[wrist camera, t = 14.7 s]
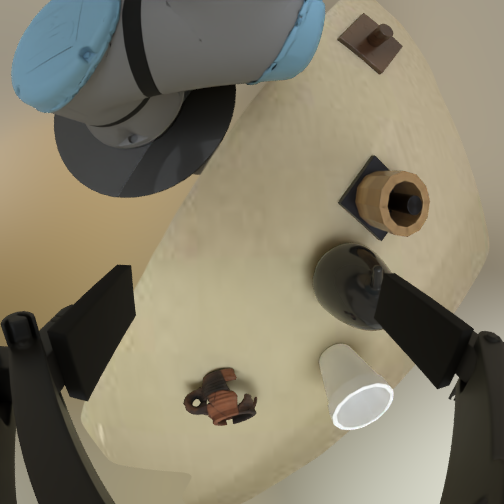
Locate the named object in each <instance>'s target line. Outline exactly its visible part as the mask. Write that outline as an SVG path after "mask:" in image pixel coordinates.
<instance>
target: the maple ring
mask: <svg viewBox="0 0 504 504" xmlns="http://www.w3.org/2000/svg"><path fill="white" fill-rule="evenodd" d="M392 189H393V190H394V192H395V193H403V194H410V195H416V196H418V197H419V198H420V199H421V201H422V209H421V212H420V213H419V214H418V215H410V214H406V213H402V212H398V211H393V210H392V212H391V213H390V214H389V210H388V200H389V194H390V192H391V191H392ZM355 203H356V206H357V209H358V212H359V215H360V217H361V218H362V219H363V220H364V221H366V222H367V223H368V224H369V225H370V226H373V227H375V228H378V229H381V230H383V231H386V232H389V233H391V234H394V235H400V236H406V237H408V236H410V235H411V234H413V233H415V232H417V231H419V230H420V229H421V227H422V225H423V224H424V222H425V221H426V219H427V217H428V210H429V203H430V200H429V196H428V192H427V188H426V185H425V184H424V183H423V182H422V181H421V179H420V178H419V177H418V176H417V175H416V174H413V173H409V172H406V171H376V172H373V173H371V174H368V175H366V176H365V177H364V178H363V180H362V181H361V183H360V184H359V186H358V187H357V193H356V200H355Z"/></svg>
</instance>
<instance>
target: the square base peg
mask: <svg viewBox="0 0 504 504" xmlns="http://www.w3.org/2000/svg"><path fill="white" fill-rule="evenodd" d="M376 171H390V170H389V169H388V168H387V167H386V166H385V165H384V164H383V163H382V162H381V161H380V160H379V159H378V158H377V157H376V156H375V155H374V156H371V157H370V159H369V160H368V162H367V163H366V165H365V166H364V167H363V169H362V170H361V172H360V173H359V174H358V176H357V177H356V179H355V180H354V181H353V183H352V184H351V186H350V187H349V188H348V190H347V191H346V193H345V194H344V195H343V197H342V198H341V199H340V201H339V202H338V203H339V204H340V205H341V206H342V207H343V208H344V209H345V210H347V211H348V212H349V213H350V214H351V215H352V216H353V217H354V218H356V219H357V220H358V221H359V222H360V223H361V224H362V225H363V226H364V227H365V228H367V229H368V230H369V231H370V232H371V233H372V234H373V235H374V236H375V237H376V238H377V239H378V240H380V241H382V240H383V239H384V237H385V236H386V234H387V233H388V232H386V231H383V230H381V229H378V228H375V227H373V226H370V225H369V224H368V223H367V222H366V221H364V220H363V219H362V218H361V217H360V215H359V212H358V209H357V206H356V203H355V200H356V193H357V187H358V186H359V184H360V183H361V181H362V180H363V178H364V177H365V176H366V175H368V174H371V173H373V172H376ZM421 209H422V201H421V199H420V198H419V197H418V196H416V195H410V194H403V193H395V192H394V190H393V189H392V191H391V192H390V194H389V200H388V210H389V214H390V213H391V212H392V210H393V211H398V212H402V213H406V214H410V215H418V214H419V213H420V212H421Z"/></svg>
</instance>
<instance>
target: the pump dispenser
mask: <svg viewBox="0 0 504 504" xmlns="http://www.w3.org/2000/svg"><path fill="white" fill-rule="evenodd" d="M384 273H391V271H390V269H389V268H388V267H387V265H386V264H385V263H384V261H383V260H382V259H381V258H380V257H379V256H378V255H377V254H376V253H375V252H374V251H372V250H371V249H369V248H368V247H366V246H364V245H362V244H358V243H345V244H341V245H338V246H336V247H334V248H332V249H331V250H329V251H328V252H326V253H325V254H324V255H323V256H322V258H321V259H320V261H319V262H318V264H317V266H316V269H315V272H314V276H313V290H314V294H315V296H316V298H317V300H318V302H319V303H320V304H321V306H322V307H323V308H324V309H325V310H326V311H327V312H329V313H330V314H331V315H332V316H334V317H335V318H337V319H338V320H340V321H341V322H343V323H345V324H347V325H350V326H352V327H355V328H358V329H361V330H367V331H377V330H382V329H383V328H382V327H381V326H380V325H379V324H378V322H377V321H376V320H375V319H374V315H375V311H376V307H377V303H378V298H379V294H380V289H381V285H382V280H383V275H384Z"/></svg>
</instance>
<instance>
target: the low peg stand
mask: <svg viewBox="0 0 504 504" xmlns="http://www.w3.org/2000/svg"><path fill="white" fill-rule="evenodd" d="M392 36H393V31H392V29H391V28H390V27H389V26H388V25H386V24H380V25H378V24H377V23H376V22H374V21H373V20H372V19H371V18H369V17H368V16H367V15H365V14H364V13H363V14H362V15H361V16H360V17H359V18H358V19H357V20H356V21H355V22H354V23H353V24H352V25H351V26H350V27H349V28H348V29H347V30H346V31H345V32H344V33H343V34H342V35H341V36H340V37H339V38H338V40H339V41H340V42H341V43H343V44H344V45H345V46H346V47H348V48H349V49H350V50H352V51H353V52H354V53H355V54H356V55H358V56H359V57H360V58H361V59H362V60H364V61H365V62H366V63H367V64H368V65H369V66H371V67H372V68H373V69H374V70H375V71H376V72H377V73H378V74H381V73H383V71H384V70H385V69H386V67H387V66H388V65H389V64H390V62H391V61H392V60H393V58H394V57H395V56H396V54H397V53H398V52H399V50H400V49H401V48H402V45H401V44H400V43H399V42H398V41H397V40H395V39H394V38H393V37H392Z"/></svg>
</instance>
